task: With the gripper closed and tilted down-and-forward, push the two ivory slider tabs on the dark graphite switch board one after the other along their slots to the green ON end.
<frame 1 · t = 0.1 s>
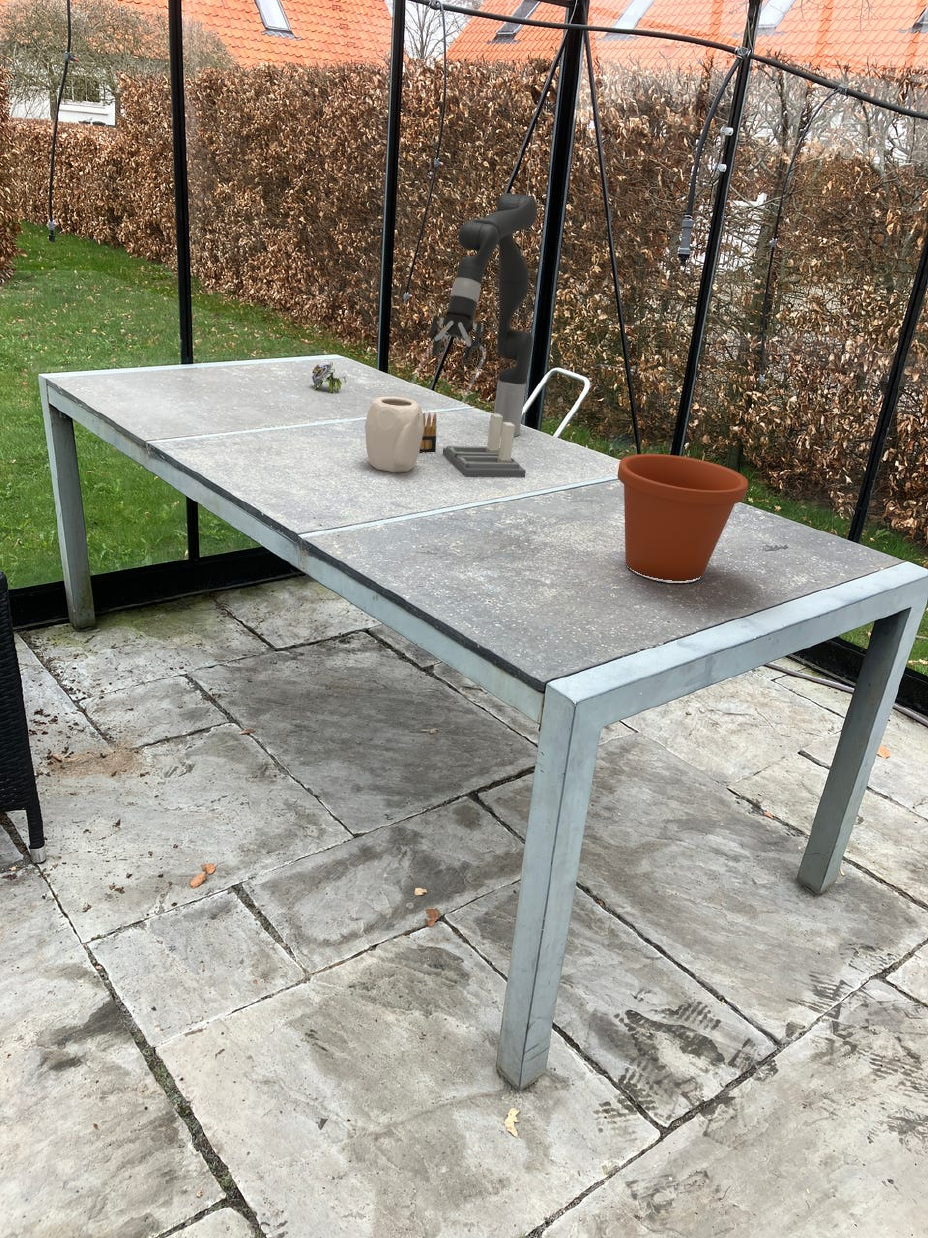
hand: (450, 358, 261), 31 cm above the table, tool tilted 20°, fingers open, 8 cm apart
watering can: (393, 469, 272), on the table
switch board: (482, 465, 285), on the table
flower pot: (663, 570, 222), on the table
tab 1: (494, 434, 287), point 8 cm above the table, slide at 0.0 cm
tab 2: (506, 443, 278), point 8 cm above the table, slide at 0.0 cm
passion flower: (327, 390, 354), on the table
ammunition clip: (418, 452, 291), on the table
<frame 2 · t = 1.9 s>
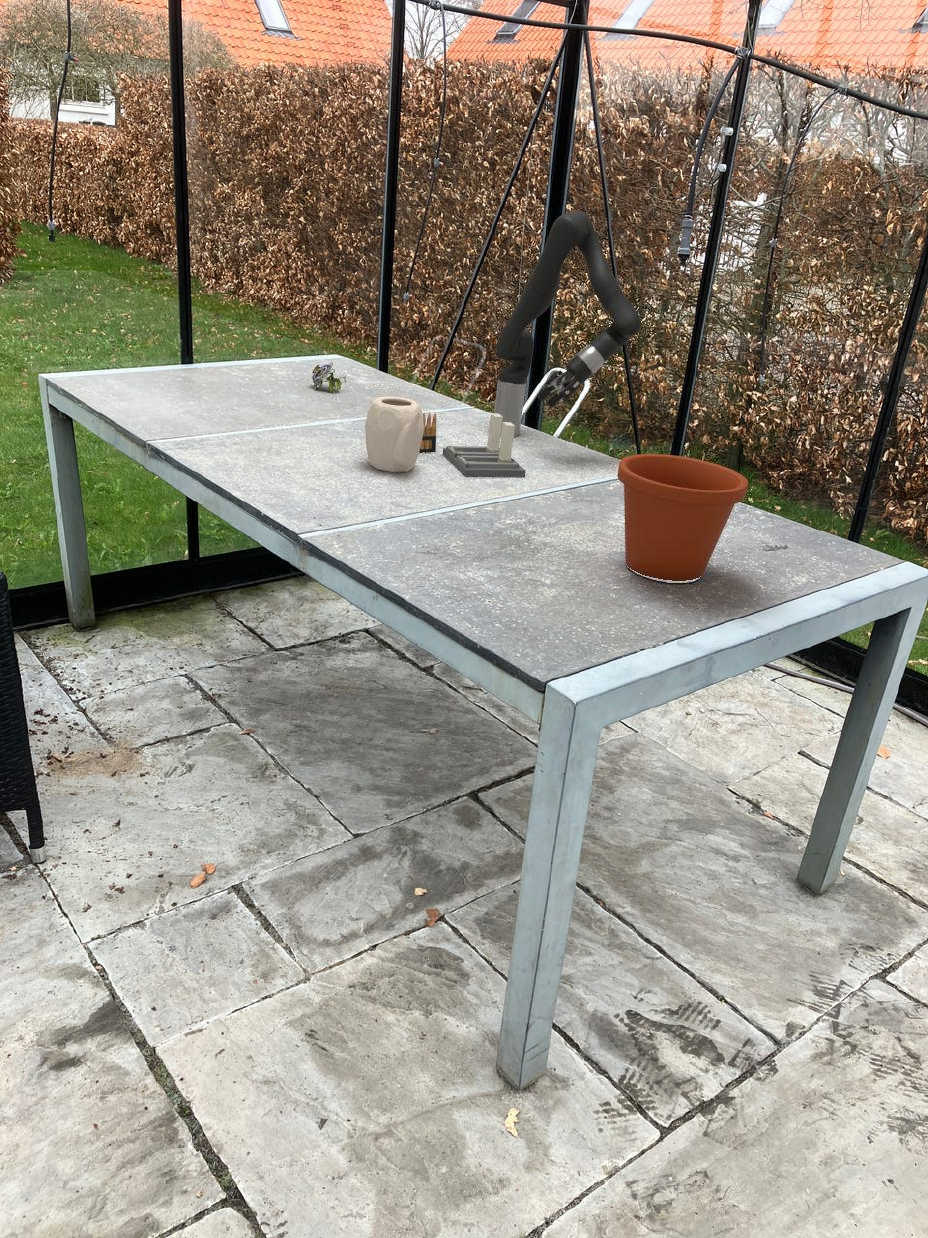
hand: (543, 401, 287), 18 cm above the table, tool tilted 45°, fingers open, 8 cm apart
nothing on the table moved.
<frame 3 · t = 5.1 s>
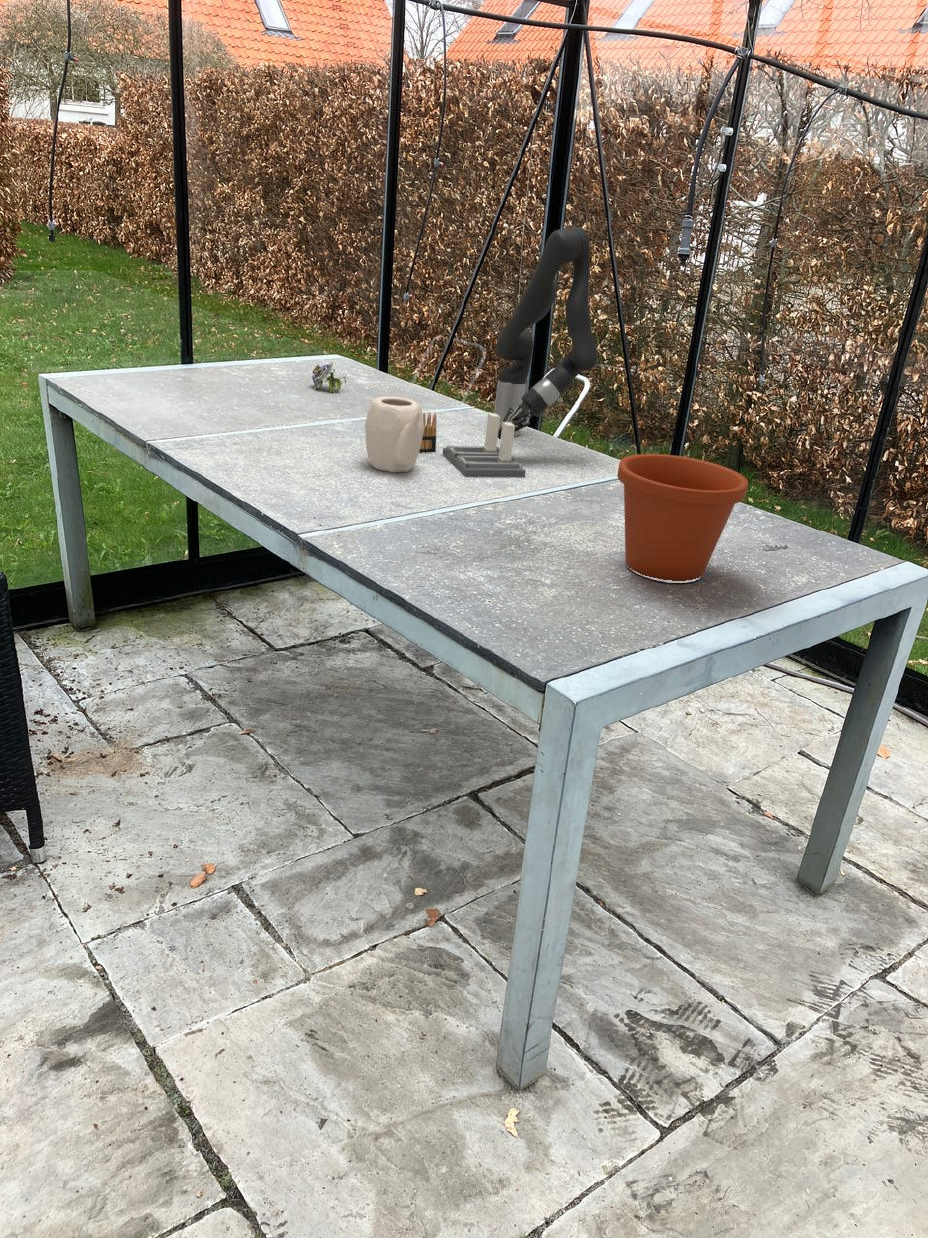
hand: (497, 436, 288), 7 cm above the table, tool tilted 45°, fingers closed
tab 1: (491, 434, 287), point 8 cm above the table, slide at 0.9 cm, touching gripper
everything else where it was.
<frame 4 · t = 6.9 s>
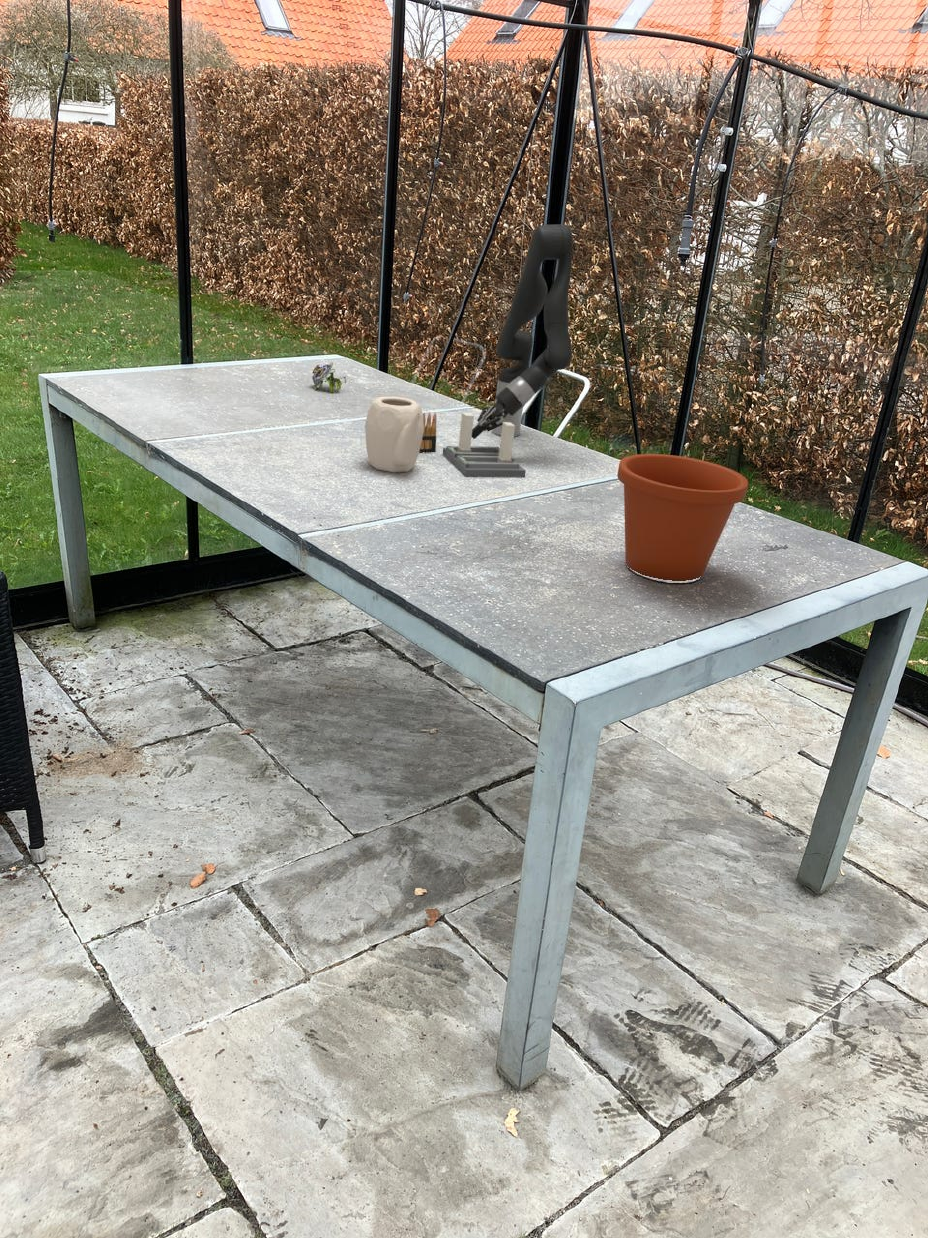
hand: (471, 436, 285), 7 cm above the table, tool tilted 45°, fingers closed
tab 1: (465, 433, 284), point 8 cm above the table, slide at 9.0 cm, touching gripper
everything else where it was.
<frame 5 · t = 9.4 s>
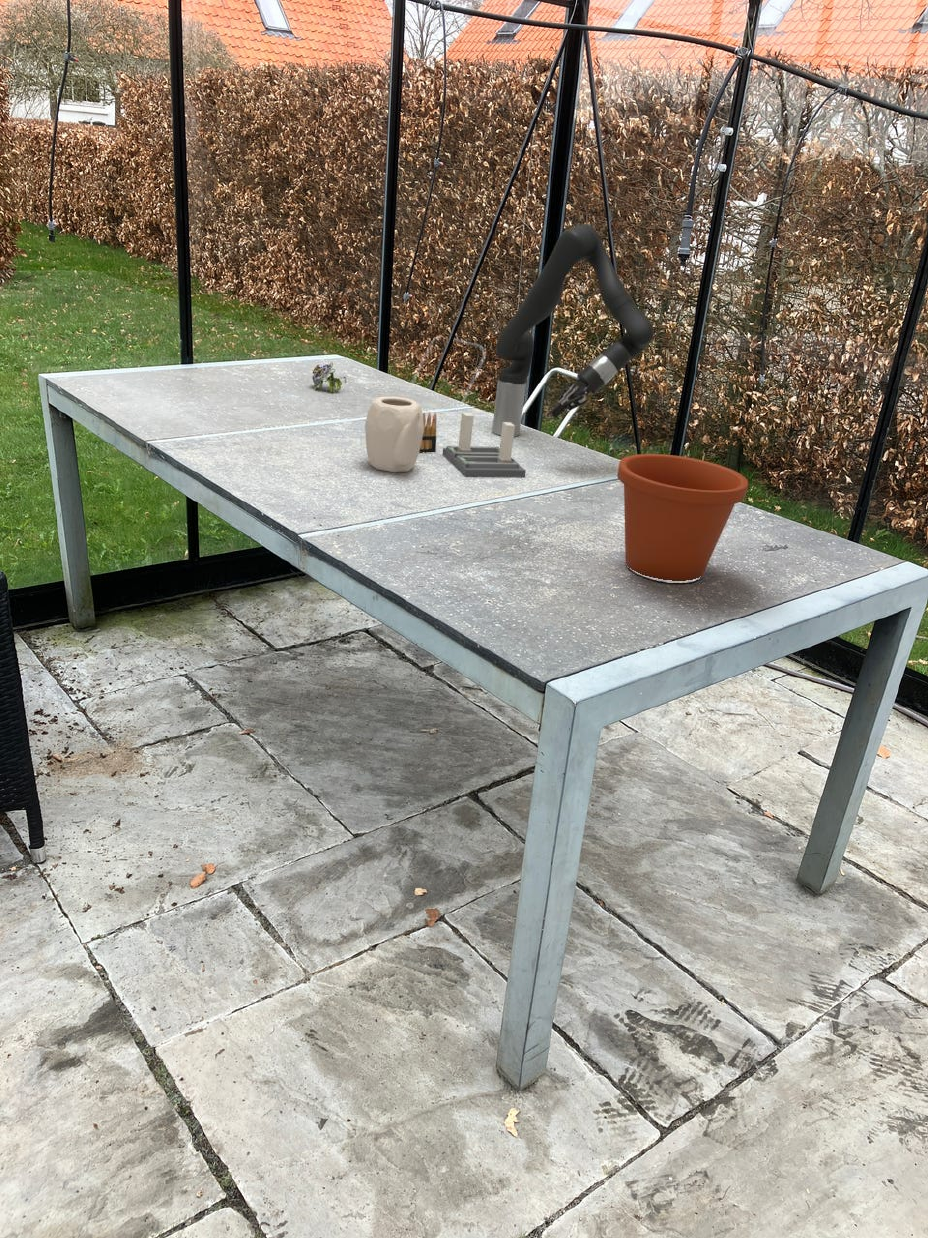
hand: (552, 415, 280), 16 cm above the table, tool tilted 45°, fingers closed
tab 1: (465, 433, 284), point 8 cm above the table, slide at 9.0 cm
everything else where it was.
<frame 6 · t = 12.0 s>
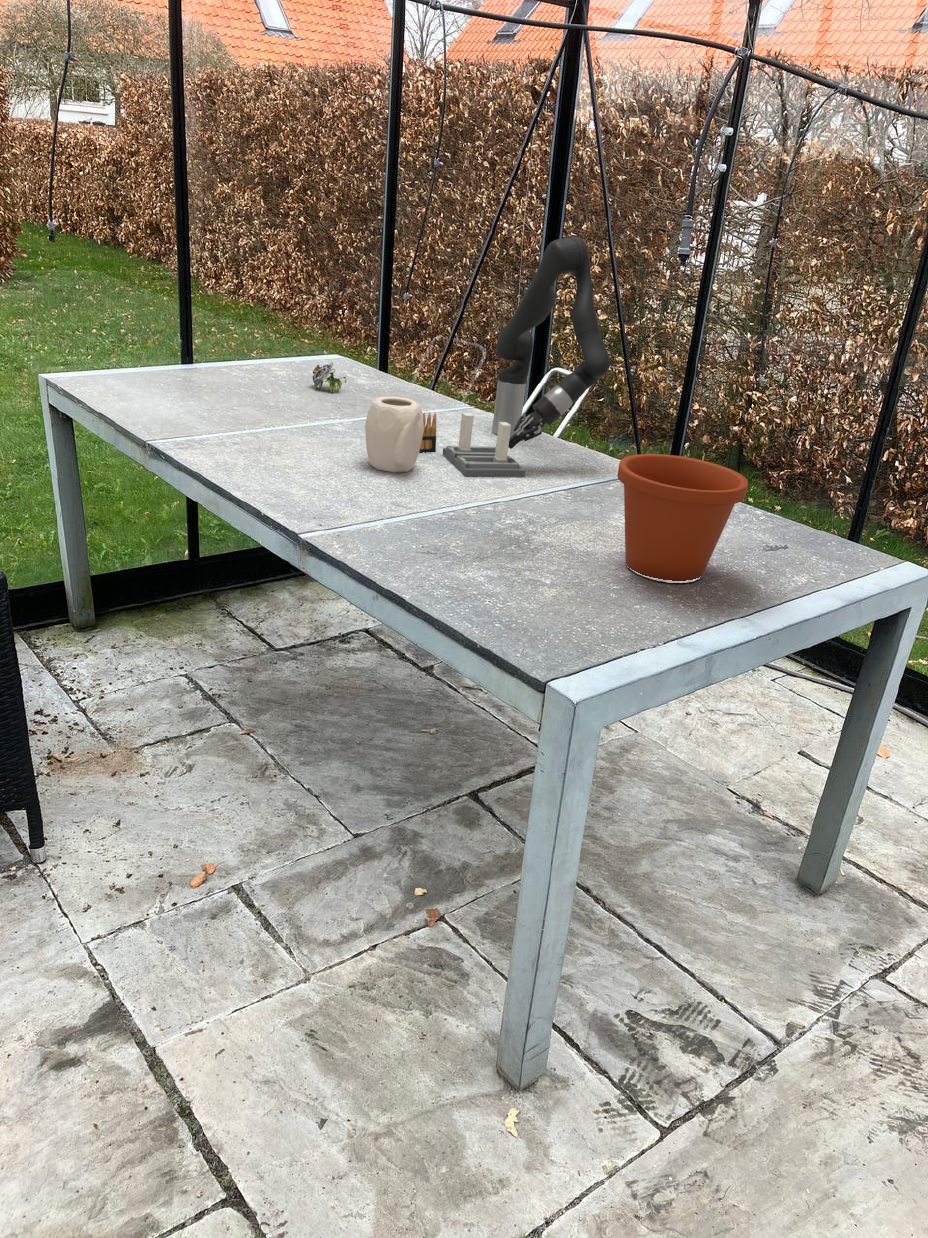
hand: (507, 446, 279), 7 cm above the table, tool tilted 45°, fingers closed
tab 2: (502, 443, 278), point 8 cm above the table, slide at 1.2 cm, touching gripper
everything else where it was.
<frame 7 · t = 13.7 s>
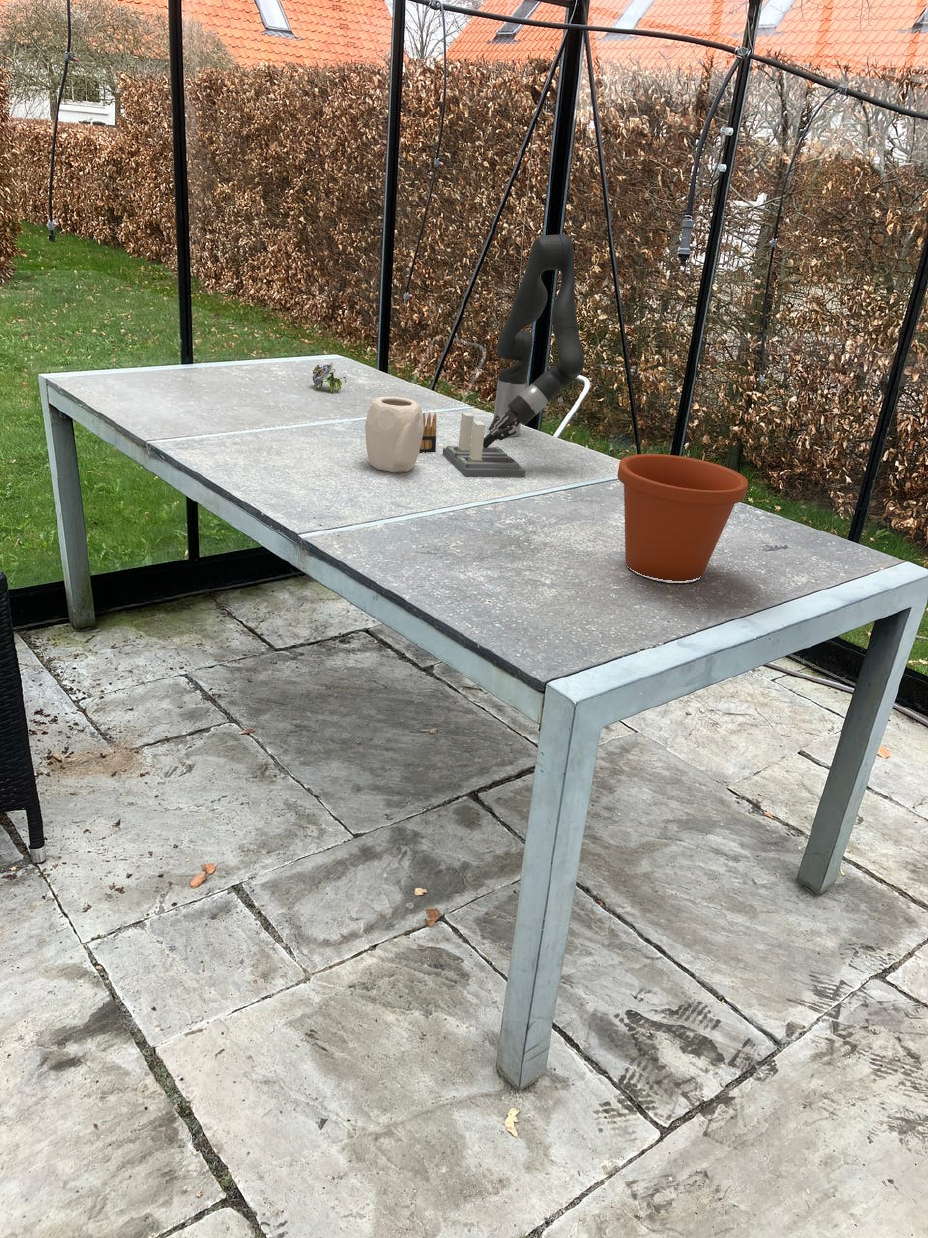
hand: (482, 445, 276), 7 cm above the table, tool tilted 45°, fingers closed
tab 2: (477, 443, 276), point 8 cm above the table, slide at 9.0 cm, touching gripper
everything else where it was.
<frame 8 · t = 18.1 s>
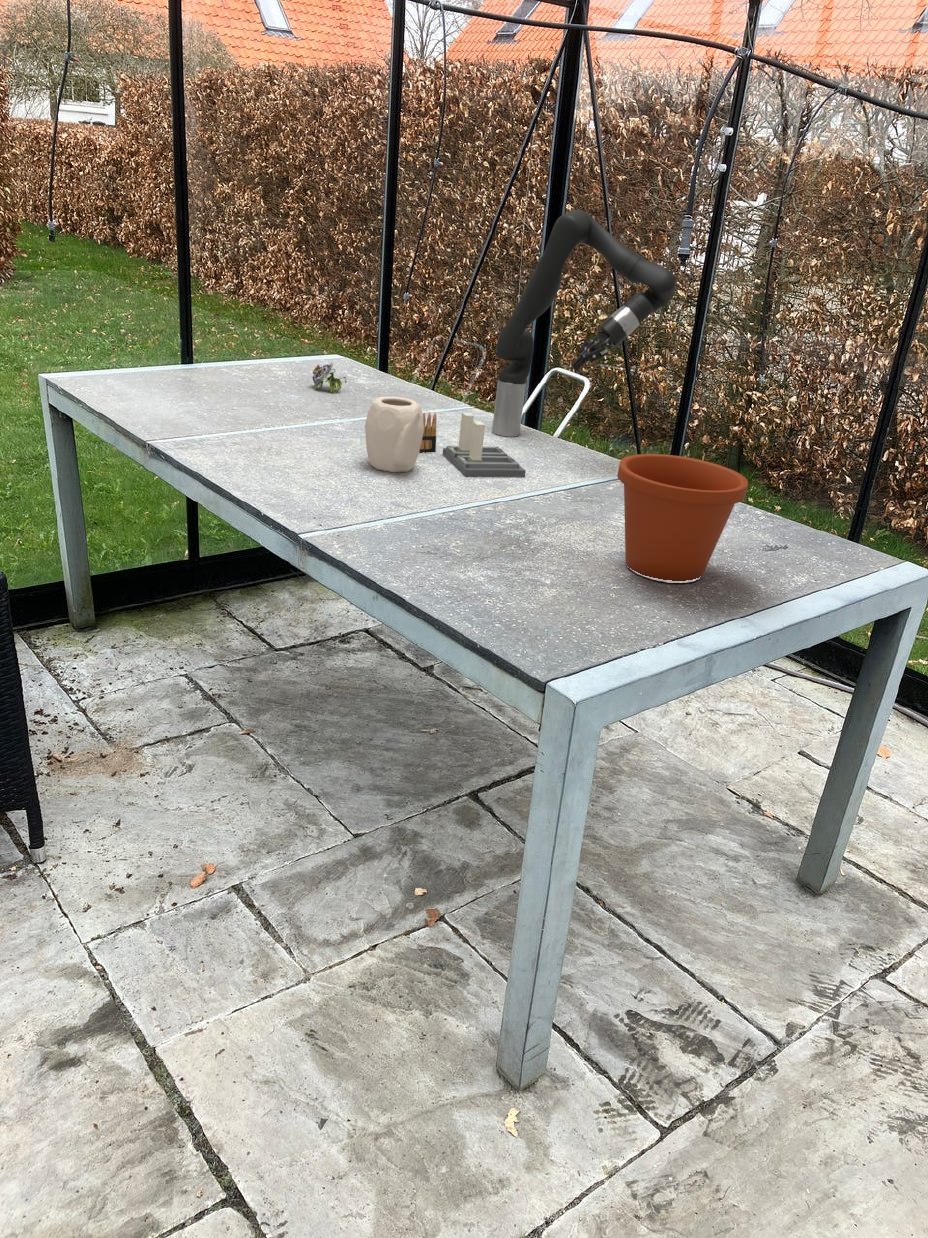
hand: (573, 367, 277), 30 cm above the table, tool tilted 45°, fingers closed
tab 2: (476, 443, 276), point 8 cm above the table, slide at 9.0 cm
everything else where it was.
at the end: tab 1 slide at 9.0 cm; tab 2 slide at 9.0 cm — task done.
